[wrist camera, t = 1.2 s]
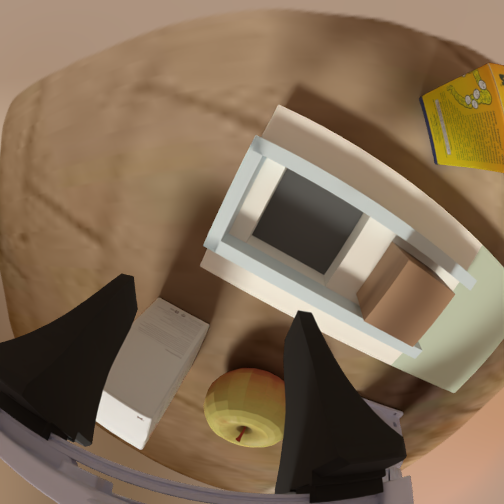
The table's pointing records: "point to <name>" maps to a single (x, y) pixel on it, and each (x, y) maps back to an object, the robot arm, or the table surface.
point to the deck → (351, 247)
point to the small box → (149, 370)
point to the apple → (247, 407)
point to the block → (403, 296)
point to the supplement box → (468, 119)
